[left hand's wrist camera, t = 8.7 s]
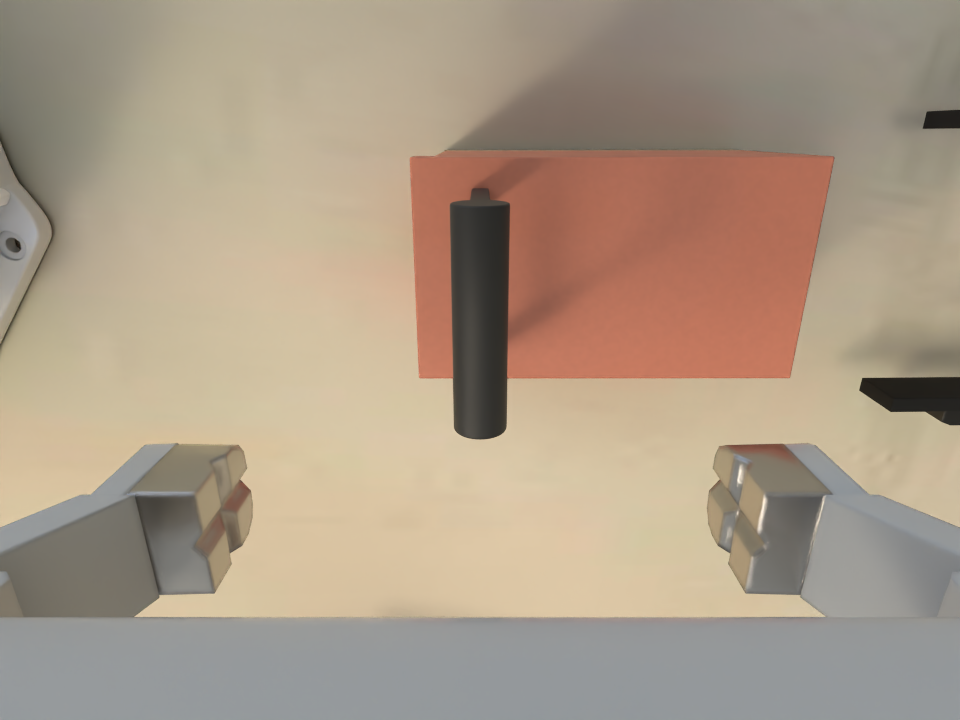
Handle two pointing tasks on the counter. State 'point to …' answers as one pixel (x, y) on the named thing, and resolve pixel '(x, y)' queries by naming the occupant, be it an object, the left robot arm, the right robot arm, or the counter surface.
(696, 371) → the lid
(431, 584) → the counter surface
